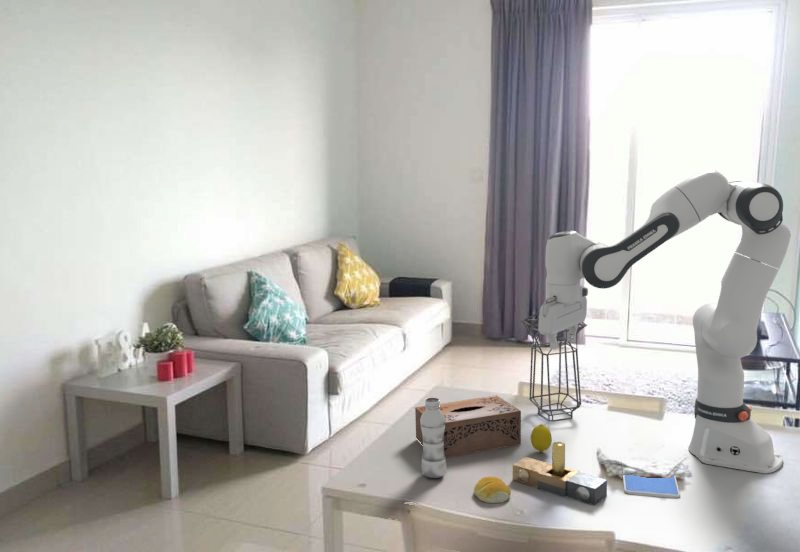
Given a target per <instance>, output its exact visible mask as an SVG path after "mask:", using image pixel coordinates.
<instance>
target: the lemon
mask: <svg viewBox="0 0 800 552" xmlns="http://www.w3.org/2000/svg"><path fill="white" fill-rule="evenodd" d="M552 438H553V435H552V433H551V430H550V428H549V427H548V426H546V425H544V424H542V423H540V424H538V425H536V426H534V427H533V429H532V430H531V434H530V443H531V446H532V447H533V448H534V449H535V450H537V451H538V452H539V453H543V452H545V451H547V450H548V449H549V448H550V447H551V446H552V443H553V442H552V440H553V439H552Z"/></svg>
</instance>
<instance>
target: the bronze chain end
mask: <svg viewBox="0 0 800 552" xmlns="http://www.w3.org/2000/svg"><path fill="white" fill-rule="evenodd" d="M577 472H581V471H580V470H579V469H574V468H570V467H568V466H565V476H564V477H559V476H555V475H552V463H550V462H549V463H548V462H545V461H542V460H539V459H535V458H531V457H528V456H525V457H522V458H521V459H519V460H518V461H516V462H515V463H512V480H513V481H515V482H519V483H523V484H526V485H529V486H531V487H535V488H538V481H540V482H543V483H547V484H550V485H553V486H556V487H560V488H563V489H566V480H568V479H569V478H571V477H572V476H573V475H575V474H576V473H577Z"/></svg>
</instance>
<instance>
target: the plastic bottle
mask: <svg viewBox="0 0 800 552" xmlns="http://www.w3.org/2000/svg"><path fill="white" fill-rule="evenodd" d="M440 401H441V400H440V399H439V398H437V397H427V398H426V399H425V401H424V403H425V404H424V406H425V408H426V410H425V411H424V412H423V414H422V416H421V419H420V424H421V430H422V436H423V446H422V457H421V462H420V463H421V465H420V467H421V472H422V474H423V475H424V477H426V478H429V479H438V478H442V477H444V475H445V474H446V472H447V469H448V468H447V466H448V465H447V460H446V457H445V453H444V430H445V417H444V415H443V413H442V412H441V411H440V409H439V408H440V404H441V402H440Z"/></svg>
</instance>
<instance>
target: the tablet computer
mask: <svg viewBox="0 0 800 552" xmlns="http://www.w3.org/2000/svg"><path fill="white" fill-rule="evenodd" d="M622 482H623V493H625V494H626V495H639V496H648V497H659V498H669V499H670V498H671V499H673V498H674V499H679V498H680V497H681V494H680V491H679V490H680V489H679V486H678V481H677V477H676V475H675V476H673V477H670V478H646V477H640V476H634V475H623V474H622Z"/></svg>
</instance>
